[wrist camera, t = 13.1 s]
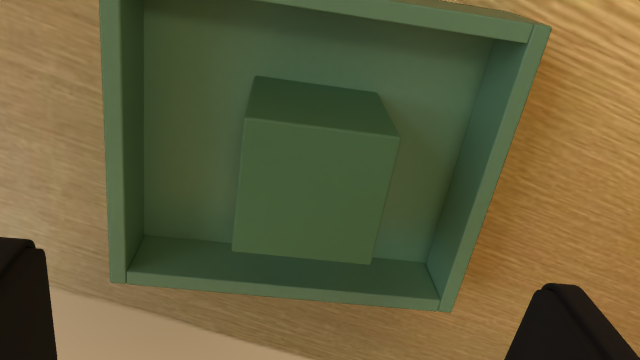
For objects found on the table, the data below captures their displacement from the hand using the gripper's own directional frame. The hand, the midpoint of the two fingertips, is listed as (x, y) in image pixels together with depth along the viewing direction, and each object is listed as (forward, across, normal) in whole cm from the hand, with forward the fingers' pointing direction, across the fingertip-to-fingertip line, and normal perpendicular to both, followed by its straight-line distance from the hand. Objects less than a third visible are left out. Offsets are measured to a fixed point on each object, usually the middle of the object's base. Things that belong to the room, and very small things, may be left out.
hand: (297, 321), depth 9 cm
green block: (+10, -1, 0) cm, 10 cm away
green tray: (+11, -1, 0) cm, 11 cm away
